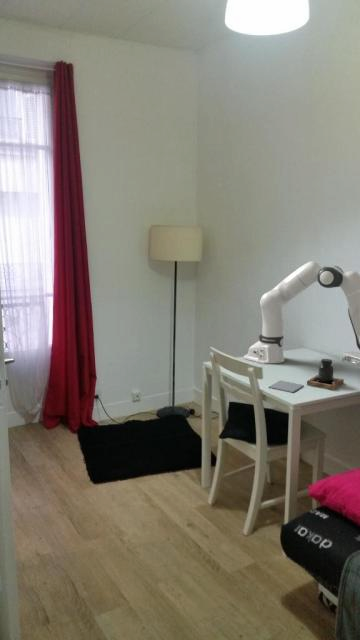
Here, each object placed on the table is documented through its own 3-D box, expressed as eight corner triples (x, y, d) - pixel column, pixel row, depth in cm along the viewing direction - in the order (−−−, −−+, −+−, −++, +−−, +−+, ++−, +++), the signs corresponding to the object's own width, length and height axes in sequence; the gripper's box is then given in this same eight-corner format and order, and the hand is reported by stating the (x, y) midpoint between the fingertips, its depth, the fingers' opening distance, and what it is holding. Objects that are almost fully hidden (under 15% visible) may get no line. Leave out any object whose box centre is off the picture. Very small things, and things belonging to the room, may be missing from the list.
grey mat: (268, 387, 248) (268, 386, 247) (280, 381, 257) (280, 380, 257) (292, 393, 241) (292, 391, 240) (303, 386, 250) (303, 385, 250)
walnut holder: (306, 385, 252) (307, 381, 251) (317, 378, 262) (317, 374, 262) (333, 390, 244) (333, 386, 244) (343, 383, 254) (343, 379, 254)
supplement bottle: (334, 386, 250) (336, 361, 248) (320, 386, 249) (322, 362, 247) (329, 381, 257) (331, 357, 254) (315, 382, 256) (317, 358, 254)
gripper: (355, 347, 270) (333, 350, 265) (385, 357, 251) (362, 360, 246) (354, 359, 271) (333, 362, 266) (384, 369, 253) (362, 373, 247)
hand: (347, 361), depth 256 cm, fingers open, 8 cm apart
